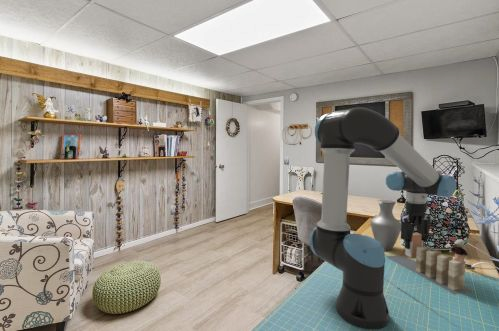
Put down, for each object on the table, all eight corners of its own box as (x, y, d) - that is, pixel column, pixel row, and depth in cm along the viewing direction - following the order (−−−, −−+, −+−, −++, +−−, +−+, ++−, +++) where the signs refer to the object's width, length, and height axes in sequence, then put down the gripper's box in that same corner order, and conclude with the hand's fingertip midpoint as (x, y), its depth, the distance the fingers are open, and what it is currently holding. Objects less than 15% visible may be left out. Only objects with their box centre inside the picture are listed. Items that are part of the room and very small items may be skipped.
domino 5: (453, 290, 91) (454, 263, 90) (447, 287, 93) (449, 260, 92) (463, 288, 92) (465, 261, 91) (458, 285, 94) (459, 259, 93)
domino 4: (441, 283, 95) (442, 257, 95) (436, 281, 97) (437, 255, 97) (451, 282, 96) (452, 256, 96) (446, 279, 98) (447, 254, 98)
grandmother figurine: (471, 270, 108) (473, 241, 107) (466, 272, 106) (468, 242, 106) (450, 263, 115) (452, 235, 114) (446, 264, 113) (447, 237, 112)
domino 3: (430, 278, 100) (431, 253, 99) (425, 275, 101) (426, 251, 101) (440, 276, 101) (441, 252, 100) (435, 274, 103) (436, 250, 102)
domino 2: (419, 272, 104) (420, 248, 103) (415, 270, 106) (416, 247, 105) (429, 271, 105) (430, 247, 104) (425, 269, 107) (426, 246, 106)
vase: (366, 248, 132) (367, 201, 130) (373, 241, 143) (375, 197, 141) (397, 256, 122) (399, 205, 121) (403, 247, 133) (405, 200, 132)
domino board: (454, 296, 88) (454, 294, 88) (385, 258, 120) (385, 256, 119) (474, 293, 91) (474, 290, 91) (401, 256, 122) (401, 254, 122)
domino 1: (411, 258, 108) (412, 235, 107) (407, 256, 110) (408, 233, 109) (420, 257, 109) (421, 234, 109) (416, 255, 111) (417, 232, 111)
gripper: (406, 205, 102) (404, 261, 104) (441, 202, 107) (438, 256, 108) (391, 201, 110) (389, 253, 111) (425, 199, 114) (423, 249, 115)
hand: (414, 255), depth 110 cm, fingers closed on domino 1, 5 cm apart
